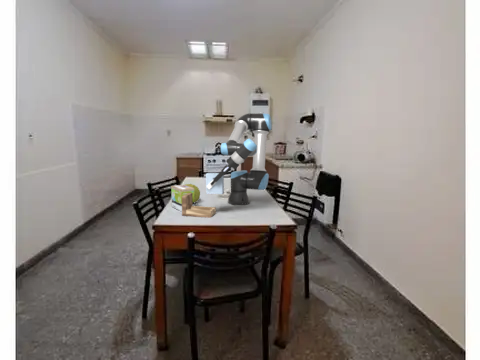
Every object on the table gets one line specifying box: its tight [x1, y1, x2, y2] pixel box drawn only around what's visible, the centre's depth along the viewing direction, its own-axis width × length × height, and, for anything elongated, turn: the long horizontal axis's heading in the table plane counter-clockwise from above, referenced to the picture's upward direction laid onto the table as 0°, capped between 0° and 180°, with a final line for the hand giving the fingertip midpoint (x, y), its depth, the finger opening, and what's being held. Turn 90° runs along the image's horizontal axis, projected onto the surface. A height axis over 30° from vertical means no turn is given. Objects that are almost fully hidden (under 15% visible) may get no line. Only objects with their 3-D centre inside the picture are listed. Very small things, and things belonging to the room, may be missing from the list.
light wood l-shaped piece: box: [181, 193, 217, 219], centre depth 206 cm, size 12×18×12 cm, turn 79°
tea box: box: [170, 184, 196, 213], centre depth 220 cm, size 15×10×15 cm, turn 36°
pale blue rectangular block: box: [205, 172, 225, 195], centre depth 203 cm, size 4×10×12 cm, turn 81°
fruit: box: [184, 183, 201, 203], centre depth 236 cm, size 16×14×15 cm
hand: (208, 187), depth 204 cm, fingers closed on pale blue rectangular block, 4 cm apart
